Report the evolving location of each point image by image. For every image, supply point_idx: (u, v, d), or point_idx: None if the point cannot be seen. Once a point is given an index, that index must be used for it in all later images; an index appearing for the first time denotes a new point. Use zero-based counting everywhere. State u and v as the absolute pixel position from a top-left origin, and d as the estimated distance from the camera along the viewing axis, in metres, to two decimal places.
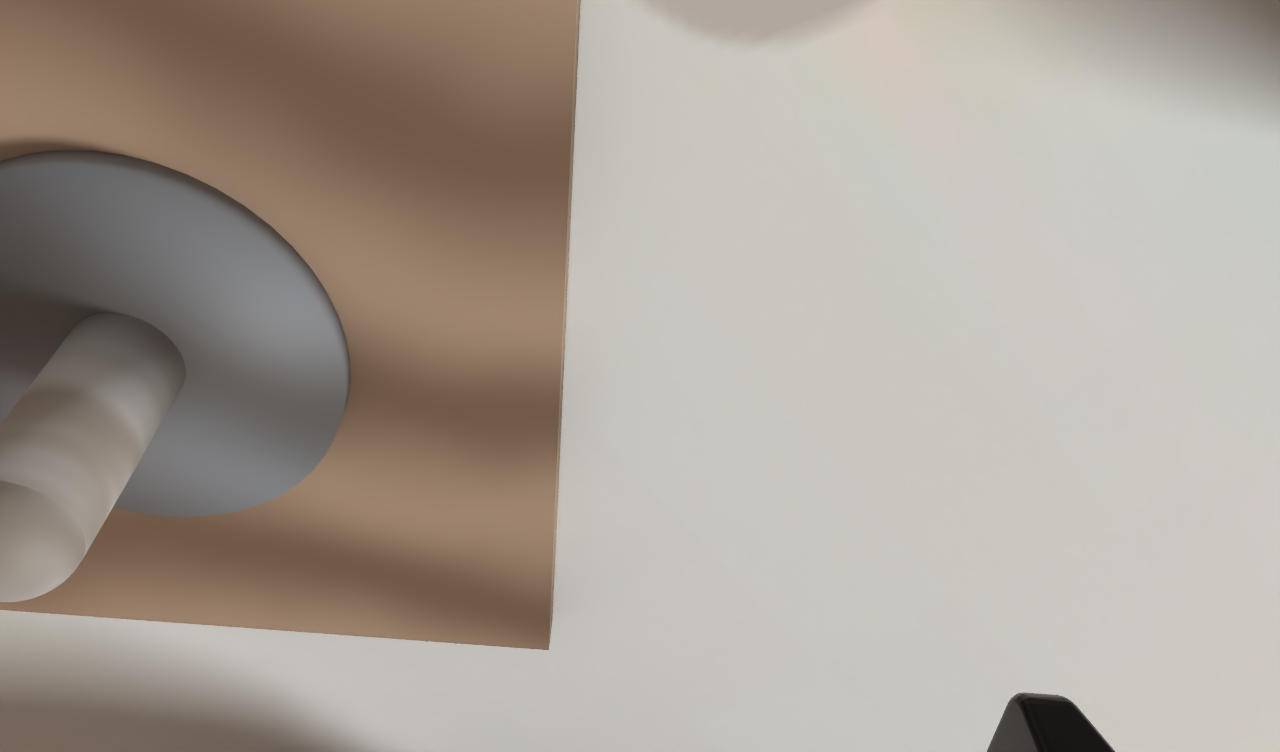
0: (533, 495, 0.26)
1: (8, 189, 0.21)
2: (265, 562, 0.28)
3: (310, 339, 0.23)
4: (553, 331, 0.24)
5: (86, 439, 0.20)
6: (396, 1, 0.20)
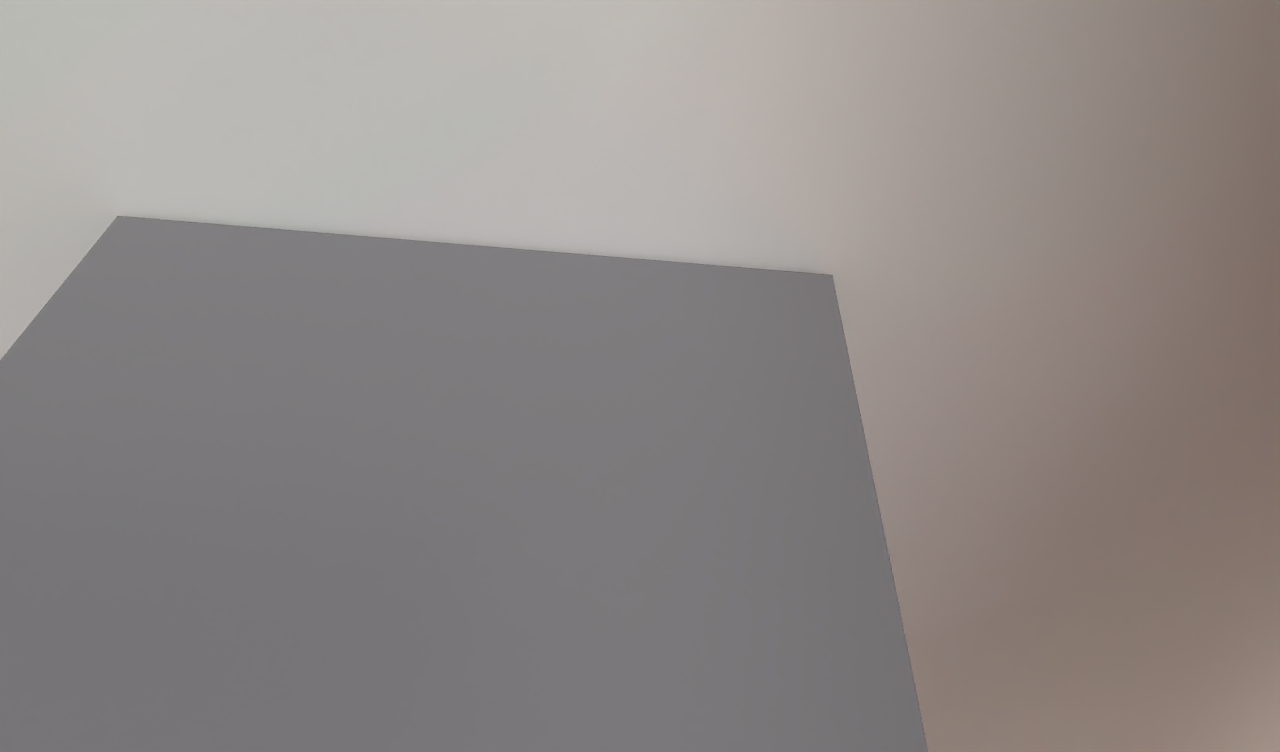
0: None
1: None
2: None
3: None
4: None
5: None
6: None
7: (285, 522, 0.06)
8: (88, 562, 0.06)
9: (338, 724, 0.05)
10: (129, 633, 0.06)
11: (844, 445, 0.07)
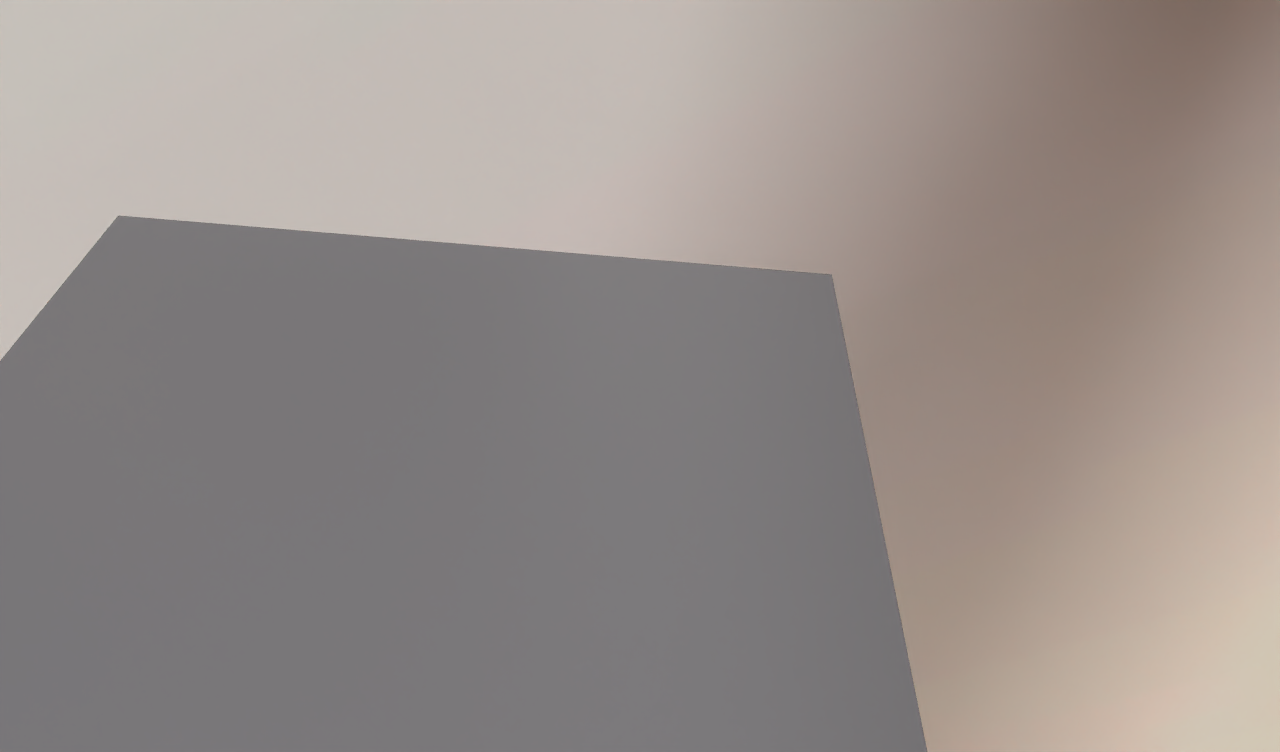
0: None
1: None
2: None
3: None
4: None
5: None
6: None
7: (286, 519, 0.06)
8: (88, 564, 0.06)
9: (339, 723, 0.05)
10: (130, 631, 0.06)
11: (843, 444, 0.07)
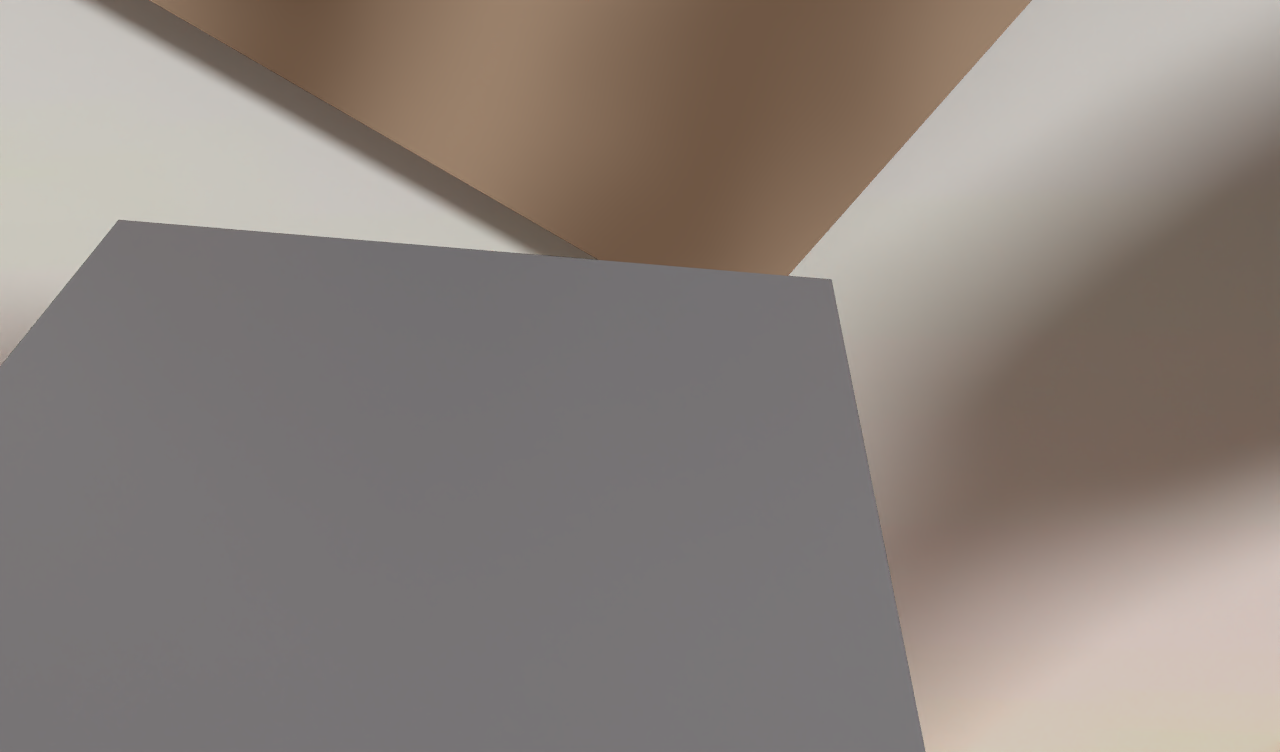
0: None
1: None
2: None
3: None
4: None
5: None
6: None
7: (286, 527, 0.06)
8: (88, 567, 0.06)
9: (339, 729, 0.05)
10: (130, 638, 0.06)
11: (843, 450, 0.07)
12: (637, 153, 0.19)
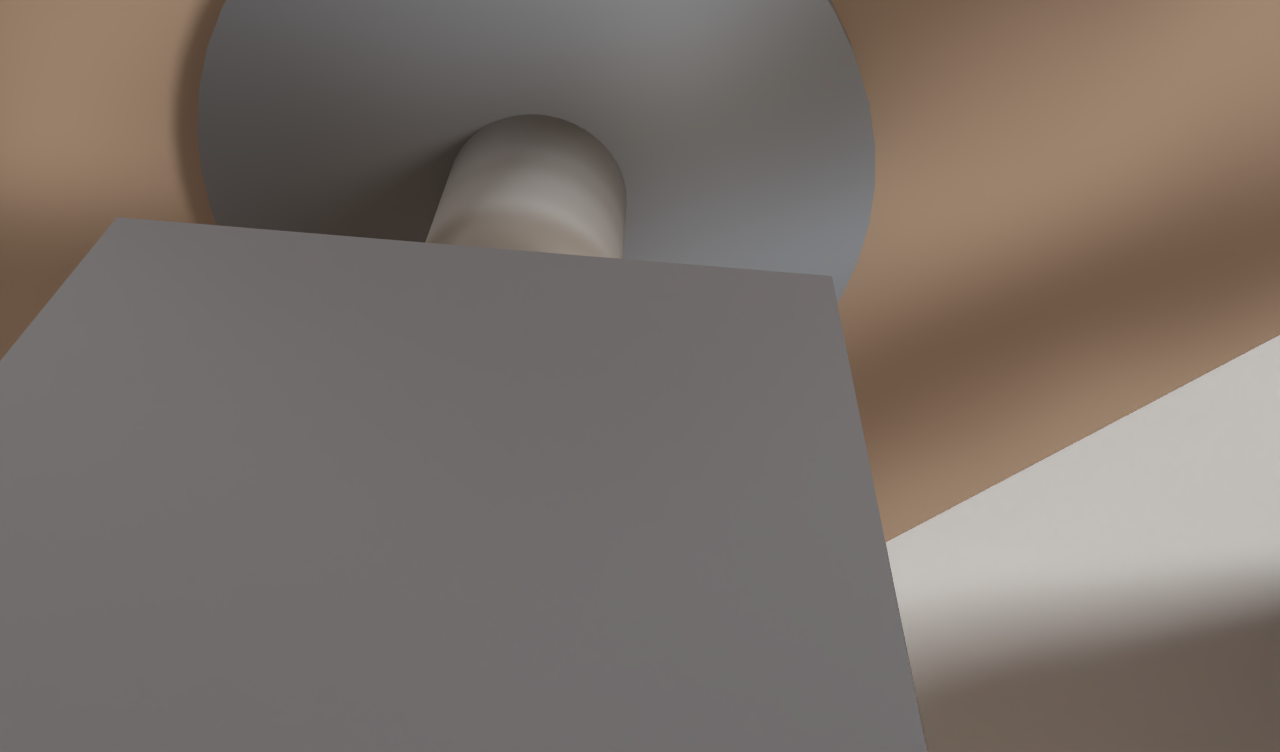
0: None
1: (239, 51, 0.14)
2: (912, 392, 0.18)
3: None
4: None
5: None
6: None
7: (286, 524, 0.06)
8: (85, 567, 0.06)
9: (338, 726, 0.05)
10: (128, 635, 0.06)
11: (844, 446, 0.07)
12: None
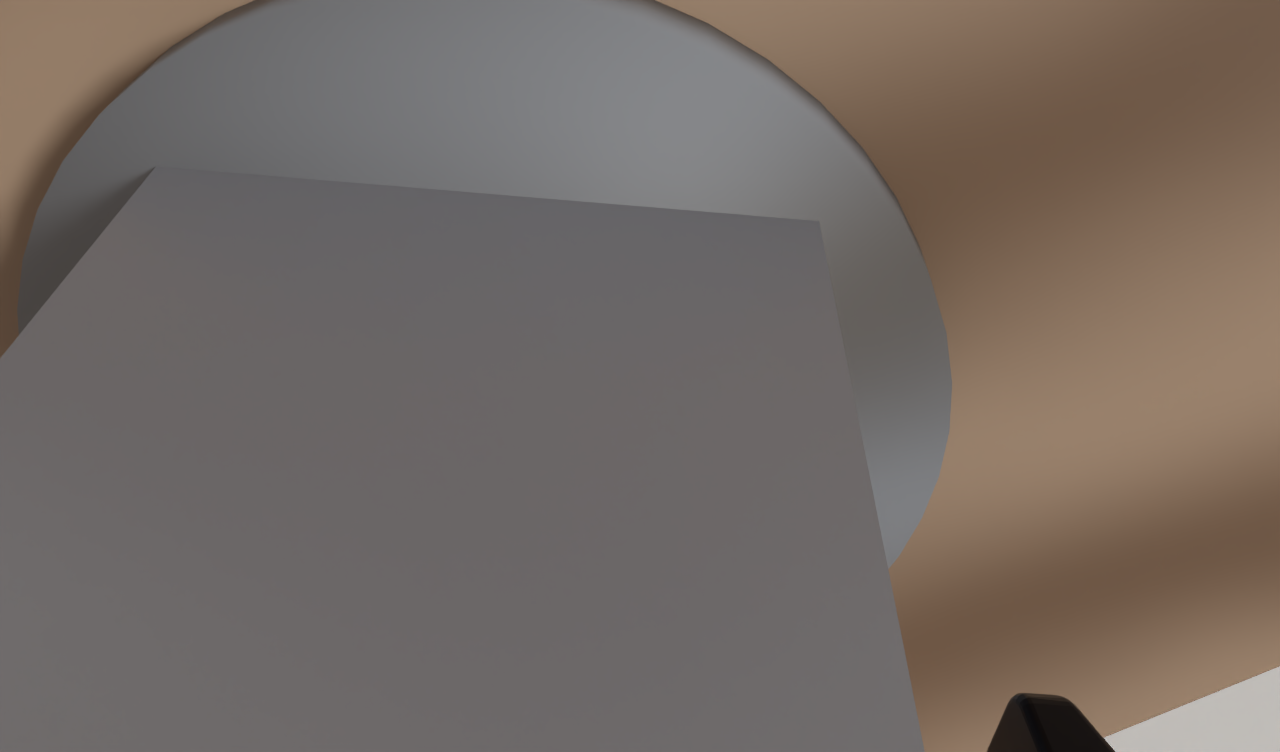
0: None
1: (67, 264, 0.10)
2: (983, 647, 0.14)
3: (748, 142, 0.09)
4: None
5: None
6: None
7: (321, 424, 0.07)
8: (146, 457, 0.07)
9: (375, 588, 0.06)
10: (186, 513, 0.06)
11: (827, 365, 0.08)
12: None
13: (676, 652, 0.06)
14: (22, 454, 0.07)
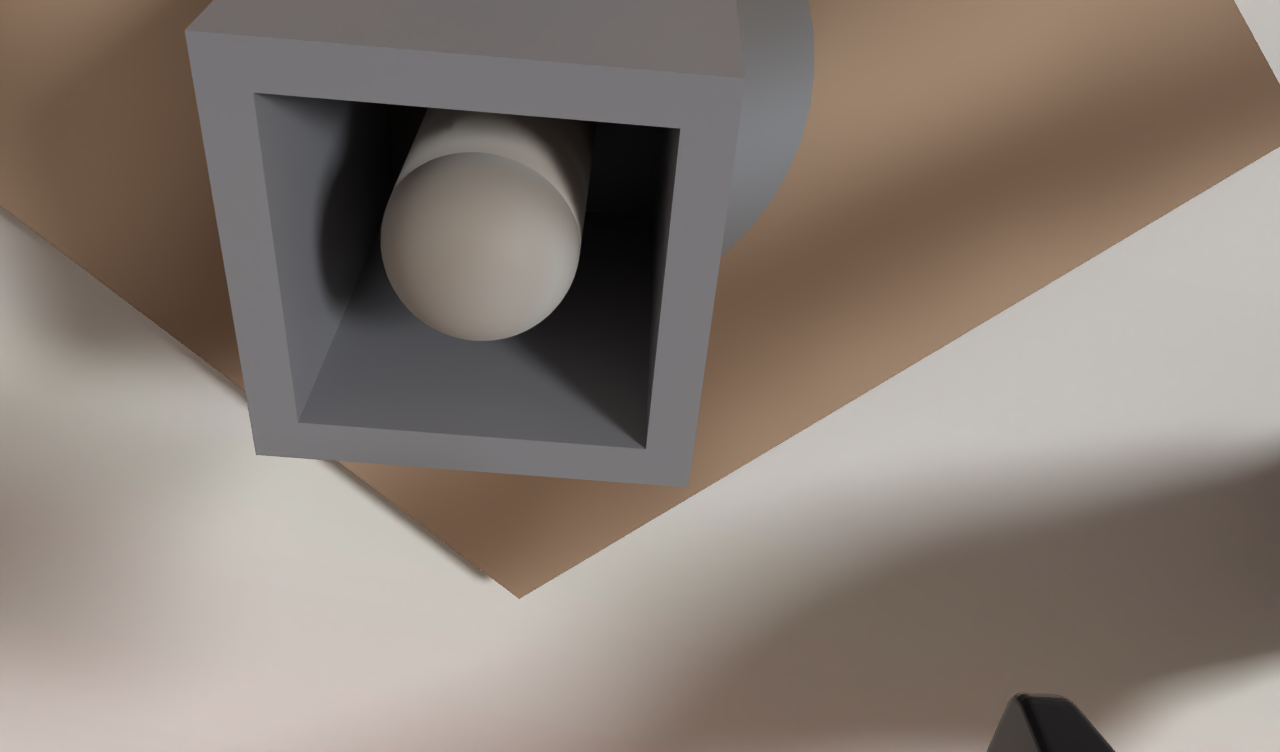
0: None
1: None
2: (855, 265, 0.20)
3: None
4: None
5: None
6: None
7: None
8: None
9: (485, 0, 0.13)
10: None
11: None
12: None
13: (630, 22, 0.12)
14: None
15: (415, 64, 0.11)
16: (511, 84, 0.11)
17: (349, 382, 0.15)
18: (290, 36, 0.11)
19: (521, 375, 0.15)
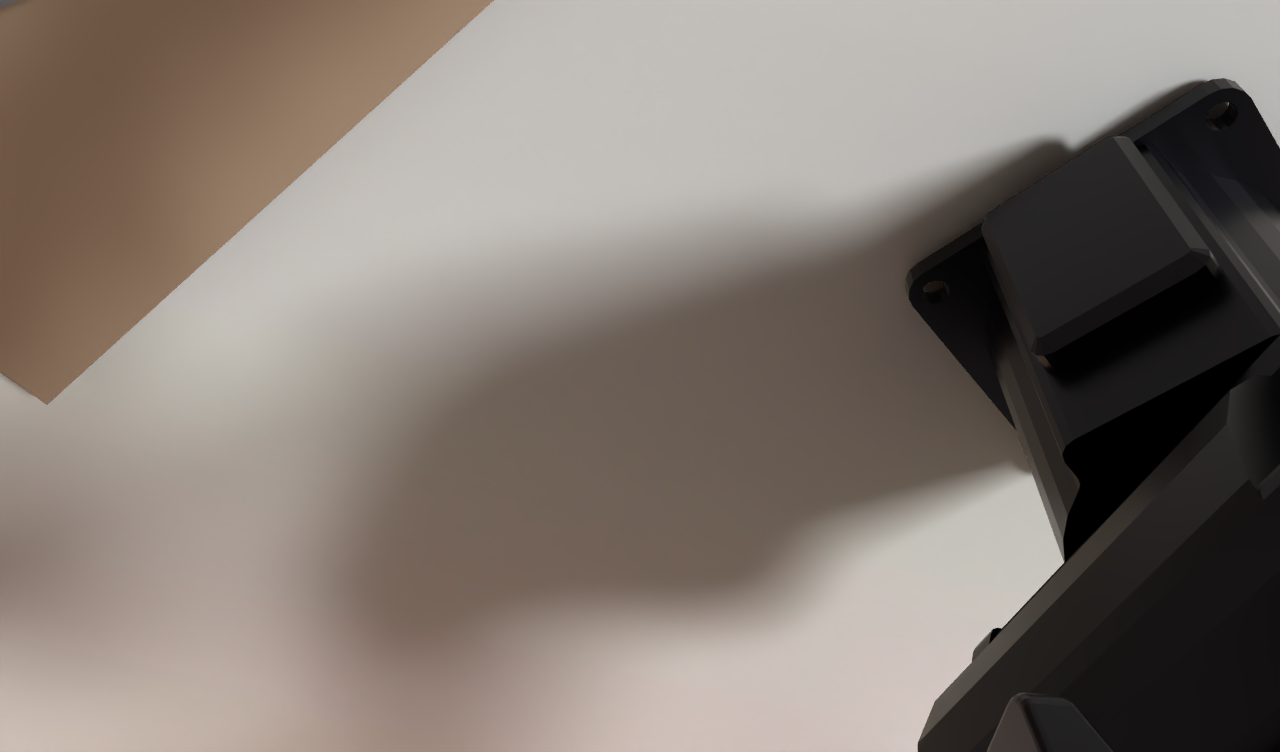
0: None
1: None
2: None
3: None
4: None
5: None
6: None
7: None
8: None
9: None
10: None
11: None
12: None
13: None
14: None
15: None
16: None
17: None
18: None
19: None
